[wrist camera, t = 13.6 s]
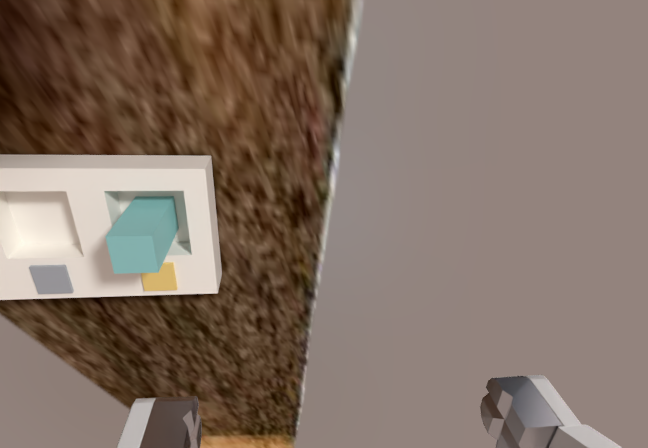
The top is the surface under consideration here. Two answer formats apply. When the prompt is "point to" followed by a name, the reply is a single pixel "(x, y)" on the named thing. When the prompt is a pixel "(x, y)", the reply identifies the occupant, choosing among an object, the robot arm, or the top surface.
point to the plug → (143, 235)
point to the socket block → (101, 225)
